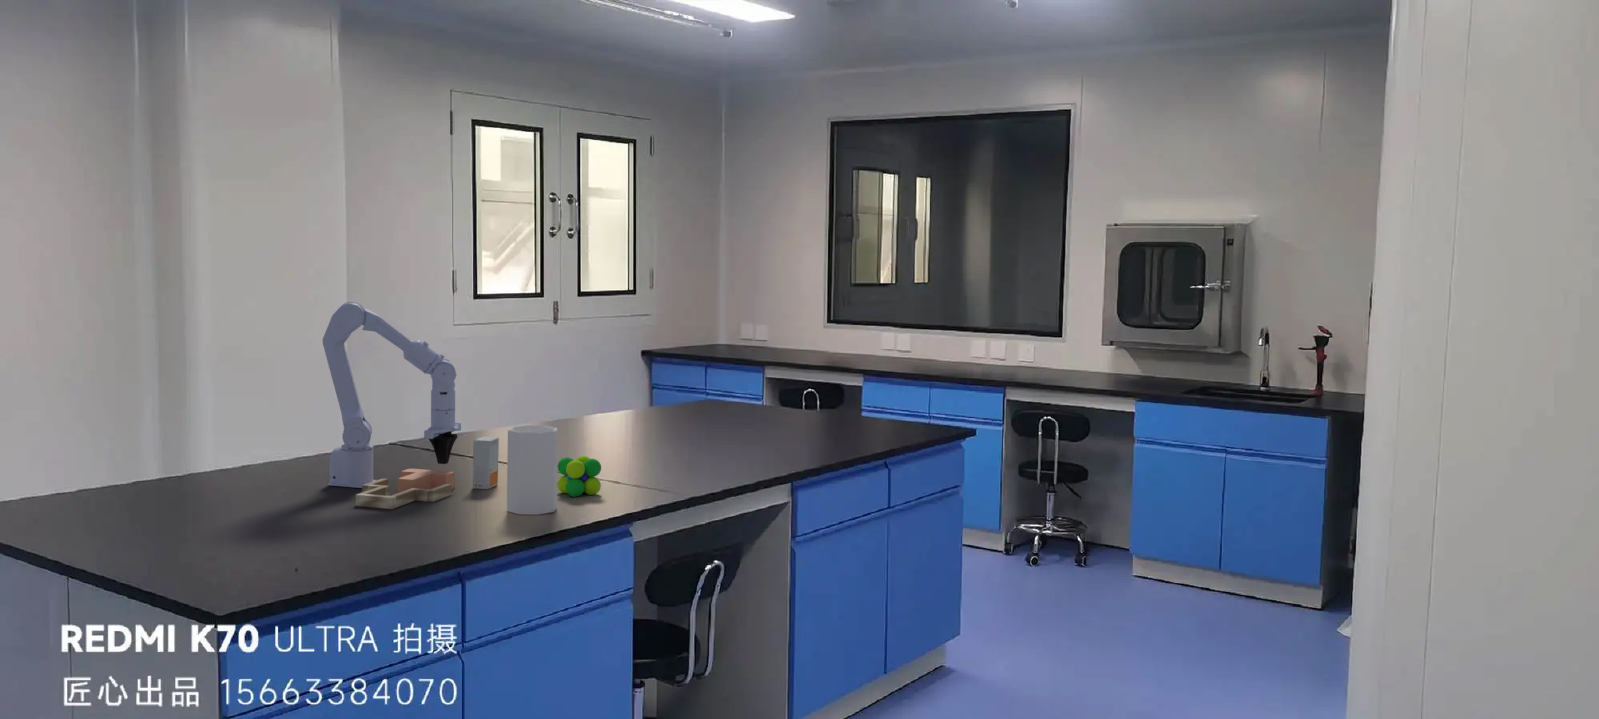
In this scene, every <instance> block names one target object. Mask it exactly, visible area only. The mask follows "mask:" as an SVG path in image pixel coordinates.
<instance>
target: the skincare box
mask: <svg viewBox="0 0 1599 719" xmlns="http://www.w3.org/2000/svg"><path fill="white" fill-rule="evenodd" d="M499 439H500V438H499V437H495V436H482V437H478V438H477V439H474V440H473V446H472V447H473V449H472V450H473V454H472V460H473V461H472V489H476V490H477V489H480V490H489V489H491V488H494V487H496V486H498V484H499V450H500V449H499V444H500V443H499V442H500V440H499Z"/></svg>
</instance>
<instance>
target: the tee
mask: <svg viewBox="0 0 1599 719" xmlns="http://www.w3.org/2000/svg"><path fill="white" fill-rule="evenodd" d="M455 480H456V472H455V471H446V470H435V469H434V470H432V469H421V468H406V469H404V470H401V471H400V477H399V478H397V493H400V492H403V491H406V490H408V489H411V488H419V489H433V488H436V487H438V486H441V485H444V484H452V490H453V489H455V486H456V484H455Z"/></svg>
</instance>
